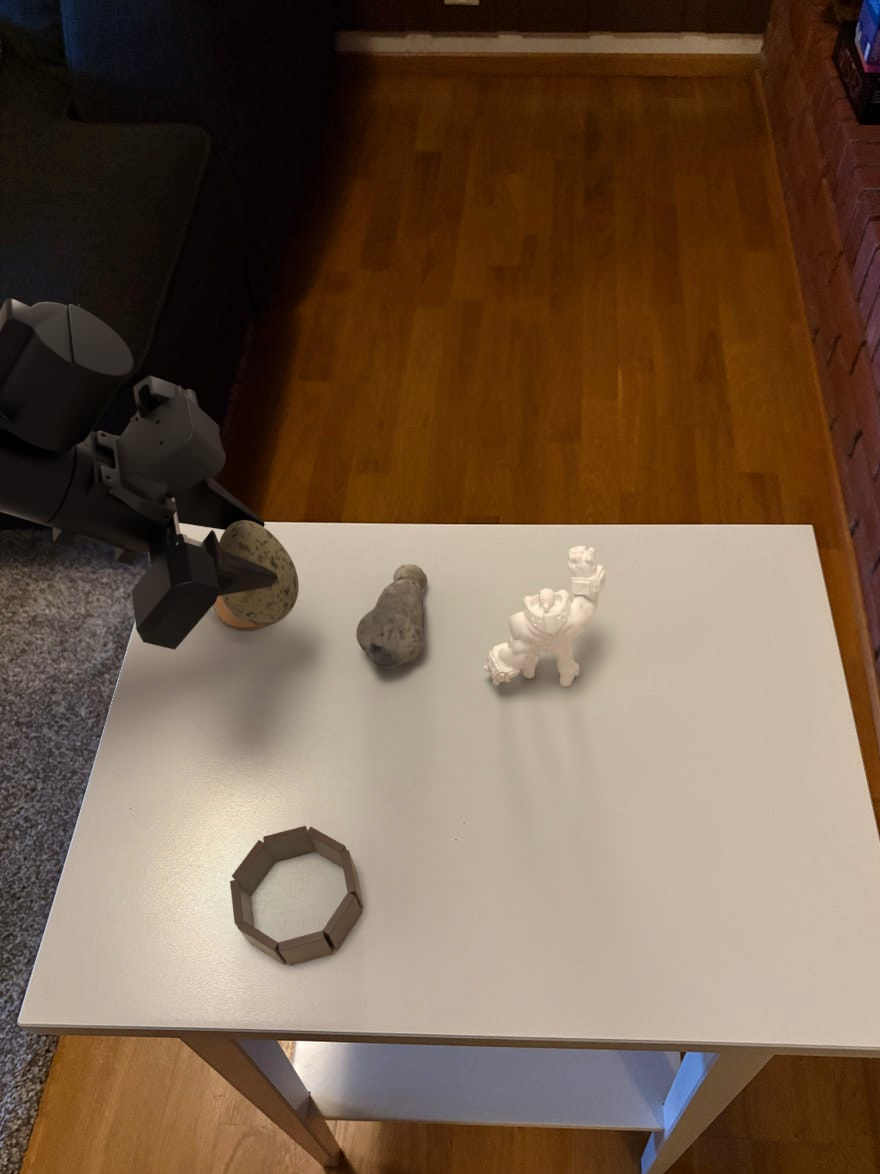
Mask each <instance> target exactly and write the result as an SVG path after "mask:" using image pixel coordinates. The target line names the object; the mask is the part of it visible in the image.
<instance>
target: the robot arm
mask: <svg viewBox="0 0 880 1174" xmlns="http://www.w3.org/2000/svg"><path fill="white" fill-rule="evenodd" d="M133 367H134V357H133V355H132V352H131V350H130V348H129V347H128V345H127V344H126V342H125V341H124V339H123V338H122V337H120V335H119V334H118V333H117V332H116V331H115V330H114V329H112V327H110V326H109V325H108V324H107V323H105V322H104V321H103V320H102V319H100V318H98V316H95V315H94V314H92V313H90V312H89V311H87V310H86V309H83V308H82V307H79V306H77V305H75V304H73V303H69V304H68V305H66V304H62V303H58V302H52V301H40V302H37V303H35V304H33V305H32V306H29V305H27V304H26V303H22V302H21V301H19V300H16V299H14V298H11V297H10V298H7V299H5V300H4V303H3V304H2V307H1V308H0V513H3V514H6V515H10V516H14V517H16V518H20V519H24V520H26V521H29V522H32V523H36V524H39V525H42V526H46V527H49V528H52V540H53V543H54V544H57V545H61V546H64V547H68V548H71V546H72V545H73V543H74V541H75V540H76V539H77V538H78V537H82V538H85V539H88V540H91V541H95V542H98V543H101V544H105V545H108V546H111V547H113V548H114V552H115V553H114V554H115V560H116V561H115V562H118V563H121V564H124V565H129V566H132V564H134V562H135V560H136V559H137V558H138V557H139V555H140V554H144V555H146V554H147V556H148V561H149V562H150V566H149V567H148V569H147V570H145V573H144V574H143V575H142V577H140V579H139V580H138V581H137V583H136V584H135V585H134V587H133V588H132V589H131V597H132V605H133V614H134V621H135V622H134V623H135V630H136V633H137V634H138V636H139V638H140V639H141V641H142V643H146V644H148V645H153V646H157V647H161V648H165V649H168V650H169V649H170V650H174V651H176V650H177V648H178V647H179V646H180V645H181V644H182V643H183V642H184V640H185V639H186V638H187V636H189V634H190V633H191V632H192V631H193V629H194V628H195V627H196V626H197V625H198V624H199V622H200V621H202V619H203V618H204V616H206V614H207V613H208V612H209V610H211V608H212V607H213V606H215V602H216V600H217V597H218V596H222V595H227V594H233V593H238V592H244V591H250V590H255V589H261V588H266V587H271V586H272V585H273V584H274V583H275V582H276V581H277V580H278V576H277V574H276V573H274V572H273V571H271V570H269V569H267V568H265V567H263V566H261V565H258V564H256V563H253V562H251V561H249V560H246V559H244V558H241V557H239V556H236V555H234V554H232V553H229V552H227V551H224V550H223V549H222V548H221V546H220V544H219V541H220V540H219V539H218V537H217V534H216V532H215V530H222V531H225V530H226V529H227V528H228V527H229V526H230V525H231V524H233V523H235V522H237V521H241V520H246V521H252V522H255V523H257V524H259V525H261V526H263V527H264V528H265V526H266V524H265V521H264V519H262V517H260V516H259V515H258V514H256V513H255V512H254V511H253V510H251V509H250V508H249V507H248V506H246V505H245V504H244V503H242V501H240V500H239V499H238V498H237V497H235V496H234V495H233V494H232V493H230V492H229V491H228V490H226V489H225V488H224V487H223V486H222V485H220V484H219V482H217V480H215V479H214V478H212V477H214V476H216V475H217V474H218V473H219V472H220V471H221V470H222V469H223V468H224V466H225V464H226V461H227V457H226V456H227V455H226V452H225V450H224V448H223V444H222V441H221V436H220V432H221V429H220V426H219V424H218V423H216V421H214V420H213V419H212V418H211V417H210V416H209V414H207V413H206V412H205V411H204V410H202V408H200V406H199V402H198V397H197V393H196V391H195V390H193V389H184V388H183V387H182V386H181V385H177V384H175V383H172V382H169V381H167V380H164V379H161V378H158V377H155V376H152V375H148V376H146V377H145V378H144V379H141V381H139V382H138V383H136V384H135V385H134V386H133V395H134V400H135V406H136V409H137V412H136V413H135V415H133V416H132V417H130V419H129V420H130V422H129V423H128V425H127V427H126V428H125V429H124V431H123V432H122V433H121V435H120V436H119V435H115V434H110V433H109V432H105V431H103V430H98V431H97V432H96V431H93V430H94V428H95V427H96V426H97V424H98V422H99V420H100V419H101V418H102V416H103V415H104V413H105V411H106V410H107V408H108V407H109V405H110V403H111V402H112V400H113V399H114V397H115V396H116V394H117V393H118V391H119V390H120V389H121V386H122V385H123V383H124V382H125V381H126V379H127V377H128V376H129V374H130V373H131V371H132V370H133ZM180 524H184V525H189V526H190V525H191V526H196V527H201V528H202V527H203V528H209V529H211V530H210V531H209V533H208V534H207V536H206V537H205V538H204V539H203V540H202V541H200V540H196V539H193V538H191V537H188V536H187V535H186V534H184V533H182V532H181V528H180ZM213 529H215V530H213Z"/></svg>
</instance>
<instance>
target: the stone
mask: <svg viewBox="0 0 880 1174" xmlns="http://www.w3.org/2000/svg"><path fill="white" fill-rule="evenodd" d="M392 578H393V581H392V582H391V583H389V584H388V585H387V586H386V587H384V589H383V590H382V592H381V593H380V595H379V597H378V598H377V601H376V604H375V606H374V608H372V609H371V610H370V611H368V612H367V613H366V614H365V615H364V616H363V617H362V618H361V619H360V620H359V622H358V624H357V628H356V636H355V638H356V640H357V643H358V645H359V647H360V648H361V649H362V650H363V651H364V652H365V653H366V655H367V656H368V657H369V659H370V661H371V662H372V664H374V665H375V666H376V667H380V668H384V669H386V668H387V669H388V668H394V667H397V666H400V665H402V664H403V665H404V664H407V663H411V662H412V661H414V660H416V659H417V658H418V657H419V655H420V654H421V653H422V651H423V647H424V641H425V640H424V639H425V638H424V637H425V634H424V633H425V632H424V626H423V622H424V617H425V616H424V615H425V612H424V611H425V610H424V607H425V606H424V605H425V604H424V596H423V593H422V592H423V591H424V590H425V589H426V587H427V585H428V577H427V574H426V573H425V572H424V570H423V569H422V568H421V567H420V566H418V565H417V564H413V563H406V564H405V563H404V564H401V565H400V566H399V567H397V568H396V569H395V571H394V572H393V576H392Z"/></svg>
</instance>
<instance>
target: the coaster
mask: <svg viewBox="0 0 880 1174" xmlns="http://www.w3.org/2000/svg"><path fill="white" fill-rule="evenodd" d="M214 607H215V612H216V614H217V616H218V617H219V620H220V621H221V622H222V623H224V624H225V625H226V626H228V627H230V628H232V629H236V630H242V631H243V630H245V631H250V630H256V629H260V628H262V627H265V626H266V625H253V624H249V623H246V622H244V621H242V620H240V619H239V618H237V617H236V616H235V615H234V614H233V613H232V612H231V611H230V610H229V609H228V608H227V606H226V605H225V603H224V601H223V599H222V597H221V596H218V597H217V600H216V602H215V603H214Z"/></svg>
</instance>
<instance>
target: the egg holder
mask: <svg viewBox="0 0 880 1174" xmlns="http://www.w3.org/2000/svg"><path fill="white" fill-rule="evenodd" d="M262 838H263V841H262V840H260V839H258V840H257V842H256V843H255V844H254V845H253V847H252V848H251V849H250V851H249V852H248V853H247V855H246V856H245V858H243V860H242V861H241V862H240V864H239V865H238V867H237V868H236V869H235V870H234V872H233V873H232V875H231V877H232V878H233V880H230V881H229V884H230V885H229V886H230V895H231V904H232V912H233V922H234V925H235V926H236V927H237V929H238V930H239V932H240V933H241V934H242V935H243V937H244V938H245V939H246V940H247V942H248V943H249V944H250V945H252V946H253V947H255V948H256V949H258V950H259V951H261V952H263V953H264V954H265V955H267V956H269V957H270V958H272V959H273V960H275V961H277V962H278V963H280V964H282V965H284V966H285V965H286V964H288V965H289V966H293V965H296V964H297V965H298V964H301V963H305V962H308V961H312V960H315V959H318V958H322V957H325V956H329V955H332V954H334V950H336V951H338V950H339V949H340V947H341V946H342V944H343V943H344V941H345V939H346V938H347V937H348V935H349V934H350V932H351V931H352V929H353V927H354V925H355V924H356V923H357V921H358V919H360V916H361V915H362V913H363V911H362V908H364V904H363V898H362V893H361V888H360V884H359V883H360V882H359V878H358V874H357V868H356V865H355V863H354V860H353V858H352V855H351V852H350V850H349V849H347V847H346V845H345V844H343V843H342V842H340V841H338V840H336V839H334V838H332V837H331V836H329V835H327V834H325V833H323V832H322V831H320V830H318V829H316V828H314V827H313V826H309V828H307V826H306V825H303V826H299V827H295V828H291V829H288V830H283V831H280V832H276V833H272V834H269V835H264V836H263V837H262ZM314 852H315V853H317V854H319V855H321V856H322V857H324V858H326V859H327V860H329V861H330V862H333V863H334V864H336V865H338V866H339V867H341V868H342V869H343V874H344V880H345V885H346V890H347V893H346V894H345V896H344V897H343V899H342V900H341V902H340V903H339V905H338V907H337V908H336V910H335V911H334V912H333V914H332V916H331V917H330V919H329V920H328V921H327V923H326V925H325V926H324V927H323V929H322V930H319V931H315V932H312V933H308V934H306V935H301V936H297V937H294V938H290V939H286V940H282V941H277V940H275V939H274V938H272V937H270V936H269V935H267V934H266V933H264V932H262V931H260V930H259V929H257V928H256V927H255V922H254V915H253V907H252V899H251V896H252V895H253V894H254V892H255V890H256V889H257V888H258V886H259V885H260V884H261V883H262V881H263V879H264V878H265V877H266V876H267V874H268V873H269V871H270V870H271V868H272V867H273V866H274V864H275V863H277V862H281V861H285V860H287V859H288V860H289V859H291V858H292V859H293V858H295V857H296V858H297V857H300V856H303V855H307V854H311V853H314Z"/></svg>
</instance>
